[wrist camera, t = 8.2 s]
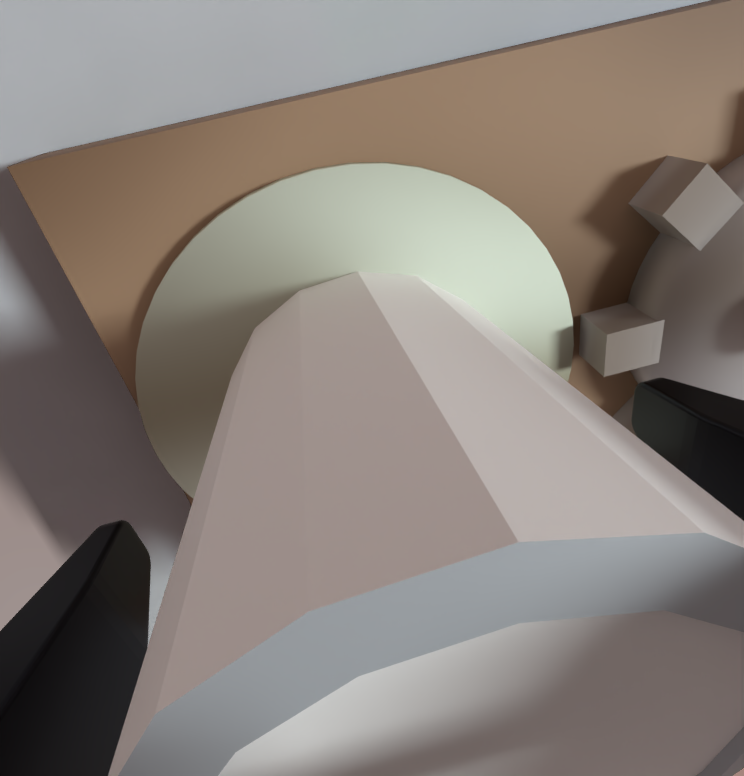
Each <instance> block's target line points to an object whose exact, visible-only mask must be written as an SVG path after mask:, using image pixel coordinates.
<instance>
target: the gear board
mask: <svg viewBox="0 0 744 776" xmlns="http://www.w3.org/2000/svg"><path fill="white" fill-rule="evenodd" d="M7 168H8V169H9V171H10V173H11V175H12V177H13V179H14V180H15V182H16V184H17V186H18V188H19V190H20V191H21V193H22V195H23V197H24V199H25V201H26V202H27V204H28V206H29V208H30V210H31V212H32V214H33V215H34V217H35V219H36V221H37V223H38V225H39V226H40V228H41V230H42V232H43V234H44V236H45V237H46V239H47V241H48V243H49V245H50V247H51V248H52V250H53V252H54V254H55V256H56V258H57V259H58V261H59V263H60V265H61V267H62V269H63V270H64V272H65V274H66V276H67V278H68V280H69V281H70V283H71V285H72V287H73V289H74V291H75V292H76V294H77V296H78V298H79V300H80V302H81V303H82V305H83V307H84V309H85V311H86V313H87V315H88V316H89V318H90V320H91V322H92V324H93V326H94V327H95V329H96V331H97V333H98V335H99V337H100V338H101V340H102V342H103V344H104V346H105V348H106V349H107V351H108V353H109V355H110V357H111V359H112V360H113V362H114V364H115V366H116V368H117V370H118V371H119V373H120V375H121V377H122V379H123V381H124V382H125V384H126V386H127V388H128V390H129V392H130V393H131V395H132V397H133V399H134V401H135V403H136V404H137V406H138V408H139V410H140V414H141V418H142V421H143V425H144V428H145V431H146V433H147V436H148V438H149V440H150V442H151V444H152V447H153V449H154V451H155V453H156V455H157V456H158V458H159V459H160V461H161V462H162V464H163V465H164V467H165V468H166V470H167V471H168V473H169V474H170V475H171V476H172V478H173V479H174V480H175V481H176V482H177V483H178V484H179V486H180V487H181V488H182V489H183V491H184V493H185V494H186V496H187V498H188V500H189V502H190V504H191V506H192V503H193V499H194V496H195V493H196V490H197V486H198V483H199V480H200V477H201V473H202V470H203V467H204V464H205V460H206V457H207V454H208V451H209V448H210V444H211V441H212V438H213V435H214V431H215V428H216V425H217V422H218V418H219V415H220V412H221V409H222V406H223V402H224V399H225V396H226V393H227V389H228V386H229V383H230V380H231V376H232V374H233V372H234V370H235V368H236V366H237V364H238V362H239V360H240V358H241V355H242V353H243V351H244V349H245V347H246V345H247V343H248V341H249V339H250V337H251V335H252V333H253V331H254V329H255V328H256V327H257V326H258V325H259V324H260V323H261V322H263V321H264V320H265V319H266V318H267V317H269V316H270V315H271V314H272V313H273V312H275V311H276V310H277V309H278V308H279V307H280V306H282V305H283V304H284V303H285V302H286V301H288V300H289V299H290V298H291V297H292V296H293V295H295V294H296V293H297V292H298V291H299V290H302V289H305V288H309V287H312V286H315V285H318V284H321V283H324V282H327V281H330V280H333V279H336V278H339V277H342V276H345V275H348V274H351V273H354V272H357V271H358V272H373V273H388V274H403V275H416V276H418V277H420V278H422V279H424V280H426V281H428V282H430V283H432V284H434V285H436V286H438V287H439V288H441V289H443V290H445V291H447V292H449V293H451V294H453V295H455V296H457V297H459V298H461V299H462V300H464V301H465V302H466V303H468V304H469V305H470V306H472V307H473V308H474V309H475V310H477V311H478V312H479V313H480V314H482V315H483V316H484V317H485V318H487V319H488V320H489V321H491V322H492V323H493V324H494V325H496V326H497V327H498V328H499V329H501V330H502V331H503V332H505V333H506V334H507V335H508V336H510V337H511V338H512V339H513V340H515V341H516V342H517V343H518V344H520V345H521V346H522V347H524V348H525V349H526V350H527V351H529V352H530V353H531V354H532V355H534V356H535V357H536V358H538V359H539V360H540V361H541V362H543V363H544V364H545V365H546V366H548V367H549V368H550V369H551V370H553V371H554V372H555V373H557V374H558V375H559V376H560V377H562V378H563V379H564V380H565V381H567V382H568V383H569V384H570V385H572V386H573V387H574V388H576V389H577V390H578V391H579V392H581V393H582V394H583V395H584V396H586V397H587V398H588V399H590V400H591V401H592V402H593V403H595V404H596V405H597V406H598V407H600V408H601V409H602V410H603V411H605V412H606V413H607V414H609V415H610V416H611V417H612V418H614V419H615V420H616V421H617V422H619V423H620V424H621V425H623V426H624V427H625V428H626V429H628V430H629V431H630V432H631V433H633V434H634V435H635V436H636V434H635V432H634V430H633V427H632V422H631V417H632V408H633V400H634V391H635V388H636V386H637V384H639V383H640V382H643V381H647V380H651V379H654V378H660V377H661V378H666V379H670V380H674V381H677V382H681V383H684V384H688V385H691V386H695V387H698V388H702V389H705V390H709V391H712V392H716V393H719V394H723V395H726V396H730V397H733V398H737V399H740V400H744V0H711V1H707V2H702V3H698V4H694V5H689V6H685V7H680V8H676V9H672V10H667V11H663V12H659V13H654V14H650V15H646V16H641V17H637V18H633V19H628V20H624V21H619V22H615V23H611V24H606V25H602V26H598V27H593V28H589V29H585V30H580V31H576V32H572V33H567V34H563V35H558V36H554V37H550V38H545V39H541V40H537V41H532V42H528V43H524V44H519V45H515V46H511V47H506V48H502V49H498V50H493V51H489V52H484V53H480V54H476V55H471V56H467V57H463V58H458V59H454V60H450V61H445V62H441V63H437V64H432V65H428V66H423V67H419V68H415V69H410V70H406V71H402V72H397V73H393V74H389V75H384V76H380V77H376V78H371V79H367V80H362V81H358V82H354V83H349V84H345V85H341V86H336V87H332V88H328V89H323V90H319V91H315V92H310V93H306V94H301V95H297V96H293V97H288V98H284V99H280V100H275V101H271V102H267V103H262V104H258V105H254V106H249V107H245V108H241V109H236V110H232V111H227V112H223V113H219V114H214V115H210V116H206V117H201V118H197V119H193V120H188V121H184V122H180V123H175V124H171V125H166V126H162V127H158V128H153V129H149V130H145V131H140V132H136V133H132V134H127V135H123V136H119V137H114V138H110V139H105V140H101V141H97V142H92V143H88V144H84V145H79V146H75V147H71V148H66V149H62V150H58V151H53V152H49V153H44V154H41V155H39V156H36V157H33V158H30V159H28V160H25V161H22V162H19V163H17V164H14V165H11V166H9V167H7ZM636 437H637V436H636Z"/></svg>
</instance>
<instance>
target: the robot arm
mask: <svg viewBox="0 0 744 776" xmlns="http://www.w3.org/2000/svg"><path fill="white" fill-rule="evenodd" d="M631 422H632V427H633V430H634V432H635V434H636V436H637V437H638V438H639V439H640V440H642V441H643V442H644V443H645V444H647V445H648V446H649V447H650V448H652V449H653V450H654V451H655V452H657V453H658V454H659V455H661V456H662V457H663V458H664V459H666V460H667V461H668V462H669V463H671V464H672V465H673V466H675V467H676V468H677V469H678V470H680V471H681V472H682V473H683V474H685V475H686V476H687V477H688V478H690V479H691V480H692V481H694V482H695V483H696V484H697V485H699V486H700V487H701V488H702V489H704V490H705V491H706V492H707V493H709V494H710V495H711V496H713V497H714V498H715V499H716V500H718V501H719V502H720V503H721V504H723V505H724V506H725V507H727V508H728V509H729V510H730V511H732V512H733V513H734V514H735V515H737V516H738V517H739V518H740V519H742V520H743V521H744V400H740V399H737V398H733V397H730V396H726V395H723V394H719V393H716V392H712V391H709V390H705V389H702V388H698V387H695V386H691V385H688V384H684V383H681V382H677V381H674V380H670V379H666V378H661V377H660V378H654V379H651V380H647V381H643V382H640V383H639V384H637V386H636V388H635V391H634V400H633V408H632V417H631ZM150 569H151V562H150V556H149V553H148V551H147V549H146V547H145V546H144V544H143V543H142V541H141V540H140V538H139V537H138V535H137V534H136V532H135V531H134V529H133V528H132V526H131V525H130V524H129V523H128V522H127V521H124V520H120V521H116V522H113V523H109V524H105V525H102V526H100V527H98V528H97V529H96V530H95V531H94V532H93V533H92V534H91V535H90V536H89V537H88V539H87V540H86V541H85V542H84V543H83V544H82V545H81V546H80V547H79V548H78V549H77V550H76V551H75V552H74V553H73V554H72V556H71V557H70V558H69V559H68V560H67V561H66V562H65V563H64V564H63V565H62V566H61V567H60V568H59V570H57V571H56V573H55V574H54V575H53V576H52V577H51V578H50V579H49V580H48V581H47V582H46V583H45V584H44V586H42V587H41V589H40V590H39V591H38V592H37V593H36V594H35V595H34V596H33V597H32V598H31V599H30V600H29V601H28V602H27V603H26V604H25V605H24V607H23V608H22V609H21V610H20V611H19V612H18V613H17V614H16V615H15V616H14V617H13V618H12V620H10V621H9V622H8V624H7V625H6V626H5V627H4V628H3V629H2V630H1V631H0V776H108V774H109V771H110V768H111V764H112V761H113V758H114V755H115V751H116V748H117V745H118V742H119V738H120V735H121V732H122V729H123V725H124V722H125V719H126V716H127V713H128V709H129V706H130V703H131V700H132V696H133V693H134V690H135V687H136V683H137V680H138V677H139V674H140V671H141V667H142V664H143V661H144V658H145V654H146V651H147V646H148V626H149V598H150Z"/></svg>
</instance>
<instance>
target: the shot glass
mask: <svg viewBox="0 0 744 776" xmlns="http://www.w3.org/2000/svg"><path fill="white" fill-rule="evenodd" d="M743 768H744V521H743V520H742V519H740V518H739V517H738V516H737V515H735V514H734V513H733V512H732V511H730V510H729V509H728V508H727V507H725V506H724V505H723V504H721V503H720V502H719V501H718V500H716V499H715V498H714V497H713V496H711V495H710V494H709V493H707V492H706V491H705V490H704V489H702V488H701V487H700V486H699V485H697V484H696V483H695V482H694V481H692V480H691V479H690V478H688V477H687V476H686V475H685V474H683V473H682V472H681V471H680V470H678V469H677V468H676V467H675V466H673V465H672V464H671V463H669V462H668V461H667V460H666V459H664V458H663V457H662V456H661V455H659V454H658V453H657V452H655V451H654V450H653V449H652V448H650V447H649V446H648V445H647V444H645V443H644V442H643V441H642V440H640V439H639V438H638V437H636V436H635V435H634V434H633V433H631V432H630V431H629V430H628V429H626V428H625V427H624V426H623V425H621V424H620V423H619V422H617V421H616V420H615V419H614V418H612V417H611V416H610V415H609V414H607V413H606V412H605V411H603V410H602V409H601V408H600V407H598V406H597V405H596V404H595V403H593V402H592V401H591V400H590V399H588V398H587V397H586V396H584V395H583V394H582V393H581V392H579V391H578V390H577V389H576V388H574V387H573V386H572V385H570V384H569V383H568V382H567V381H565V380H564V379H563V378H562V377H560V376H559V375H558V374H557V373H555V372H554V371H553V370H551V369H550V368H549V367H548V366H546V365H545V364H544V363H543V362H541V361H540V360H539V359H538V358H536V357H535V356H534V355H532V354H531V353H530V352H529V351H527V350H526V349H525V348H524V347H522V346H521V345H520V344H518V343H517V342H516V341H515V340H513V339H512V338H511V337H510V336H508V335H507V334H506V333H505V332H503V331H502V330H501V329H499V328H498V327H497V326H496V325H494V324H493V323H492V322H491V321H489V320H488V319H487V318H485V317H484V316H483V315H482V314H480V313H479V312H478V311H477V310H475V309H474V308H473V307H472V306H470V305H469V304H468V303H466V302H465V301H464V300H462V299H461V298H459V297H457V296H455V295H453V294H451V293H449V292H447V291H445V290H443V289H441V288H439V287H438V286H436V285H434V284H432V283H430V282H428V281H426V280H424V279H422V278H420V277H418V276H416V275H403V274H388V273H373V272H358V271H357V272H354V273H351V274H348V275H345V276H342V277H339V278H336V279H333V280H330V281H327V282H324V283H321V284H318V285H315V286H312V287H309V288H305V289H302V290H299V291H298V292H297V293H296V294H295V295H293V296H292V297H291V298H290V299H289V300H288V301H286V302H285V303H284V304H283V305H282V306H280V307H279V308H278V309H277V310H276V311H275V312H273V313H272V314H271V315H270V316H269V317H267V318H266V319H265V320H264V321H263V322H261V323H260V324H259V325H258V326H257V327H256V328H255V329H254V331H253V333H252V335H251V337H250V339H249V341H248V343H247V345H246V347H245V349H244V351H243V353H242V355H241V358H240V360H239V362H238V364H237V366H236V368H235V370H234V372H233V374H232V376H231V380H230V383H229V386H228V389H227V393H226V396H225V399H224V402H223V406H222V409H221V412H220V415H219V418H218V422H217V425H216V428H215V431H214V435H213V438H212V441H211V444H210V448H209V451H208V454H207V457H206V460H205V464H204V467H203V470H202V473H201V477H200V480H199V483H198V486H197V490H196V493H195V496H194V499H193V503H192V506H191V509H190V512H189V515H188V519H187V522H186V525H185V528H184V532H183V535H182V538H181V541H180V545H179V548H178V551H177V554H176V557H175V561H174V564H173V567H172V570H171V574H170V577H169V580H168V583H167V587H166V590H165V593H164V596H163V599H162V603H161V606H160V609H159V612H158V616H157V619H156V622H155V625H154V629H153V632H152V635H151V638H150V641H149V645H148V648H147V651H146V654H145V658H144V661H143V664H142V667H141V671H140V674H139V677H138V680H137V683H136V687H135V690H134V693H133V696H132V700H131V703H130V706H129V709H128V713H127V716H126V719H125V722H124V725H123V729H122V732H121V735H120V738H119V742H118V745H117V748H116V751H115V755H114V758H113V761H112V764H111V768H110V771H109V774H108V776H733V775H734V774H736V773H737V772H739V771H740V770H742V769H743Z"/></svg>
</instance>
